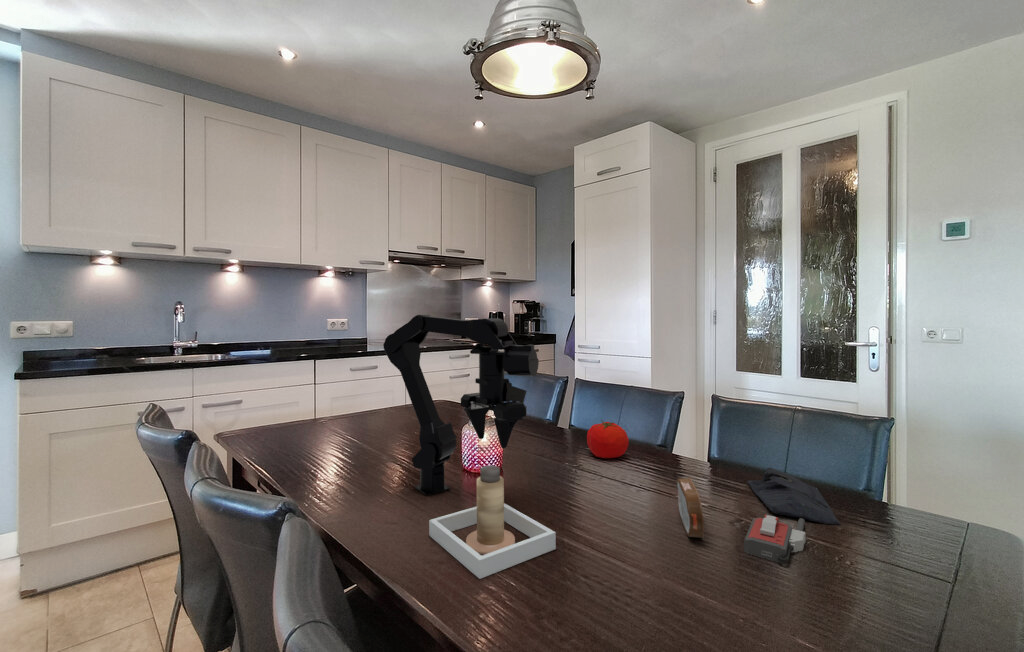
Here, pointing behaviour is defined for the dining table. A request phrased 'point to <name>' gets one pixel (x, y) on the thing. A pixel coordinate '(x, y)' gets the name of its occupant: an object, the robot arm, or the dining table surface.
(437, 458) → the robot arm
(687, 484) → the tin
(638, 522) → the dining table surface
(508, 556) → the white square frame
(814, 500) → the dark folded cloth
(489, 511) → the pepper mill
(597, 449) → the tomato
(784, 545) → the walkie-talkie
